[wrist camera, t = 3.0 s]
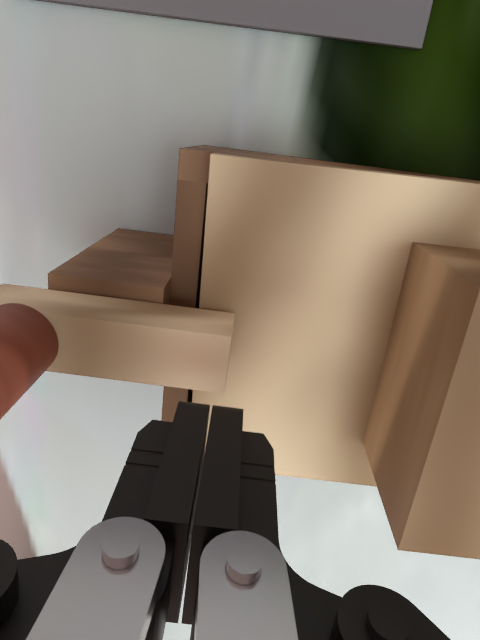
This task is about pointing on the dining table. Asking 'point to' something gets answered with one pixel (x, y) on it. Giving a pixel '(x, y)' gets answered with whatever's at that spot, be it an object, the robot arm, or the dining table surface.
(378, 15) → the mat
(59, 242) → the dining table surface
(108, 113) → the dining table surface
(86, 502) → the dining table surface
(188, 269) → the toolbox
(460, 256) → the lid
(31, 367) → the wooden block with peg
